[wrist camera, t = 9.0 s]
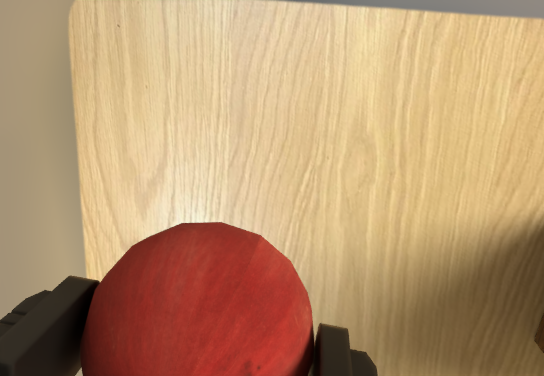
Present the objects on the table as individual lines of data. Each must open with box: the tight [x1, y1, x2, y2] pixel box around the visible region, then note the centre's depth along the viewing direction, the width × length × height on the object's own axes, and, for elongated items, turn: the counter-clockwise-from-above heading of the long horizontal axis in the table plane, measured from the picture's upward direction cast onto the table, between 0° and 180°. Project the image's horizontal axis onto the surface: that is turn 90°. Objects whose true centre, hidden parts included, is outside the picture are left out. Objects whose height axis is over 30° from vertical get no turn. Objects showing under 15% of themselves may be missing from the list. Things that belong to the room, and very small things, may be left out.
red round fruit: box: [80, 222, 315, 376], centre depth 12 cm, size 6×6×8 cm
